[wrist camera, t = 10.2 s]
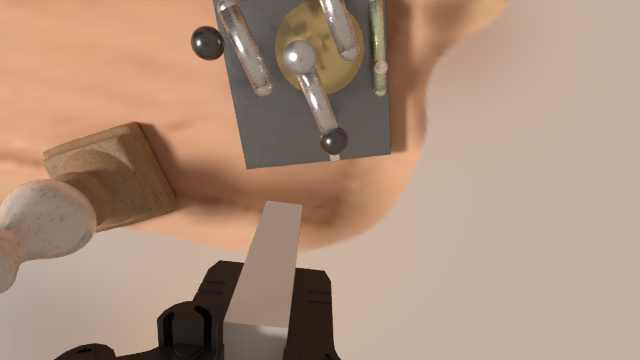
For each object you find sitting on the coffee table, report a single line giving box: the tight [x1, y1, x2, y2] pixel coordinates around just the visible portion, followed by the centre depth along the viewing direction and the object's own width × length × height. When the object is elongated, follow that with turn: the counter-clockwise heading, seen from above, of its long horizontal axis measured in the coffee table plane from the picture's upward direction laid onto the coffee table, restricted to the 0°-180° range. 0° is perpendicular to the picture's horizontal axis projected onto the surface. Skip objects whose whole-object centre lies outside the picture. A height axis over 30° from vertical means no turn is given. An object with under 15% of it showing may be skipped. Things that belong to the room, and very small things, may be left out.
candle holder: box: [0, 122, 178, 294], centre depth 28 cm, size 11×11×24 cm
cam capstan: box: [191, 0, 364, 155], centre depth 29 cm, size 14×14×9 cm
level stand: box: [213, 0, 391, 169], centre depth 33 cm, size 22×16×4 cm
